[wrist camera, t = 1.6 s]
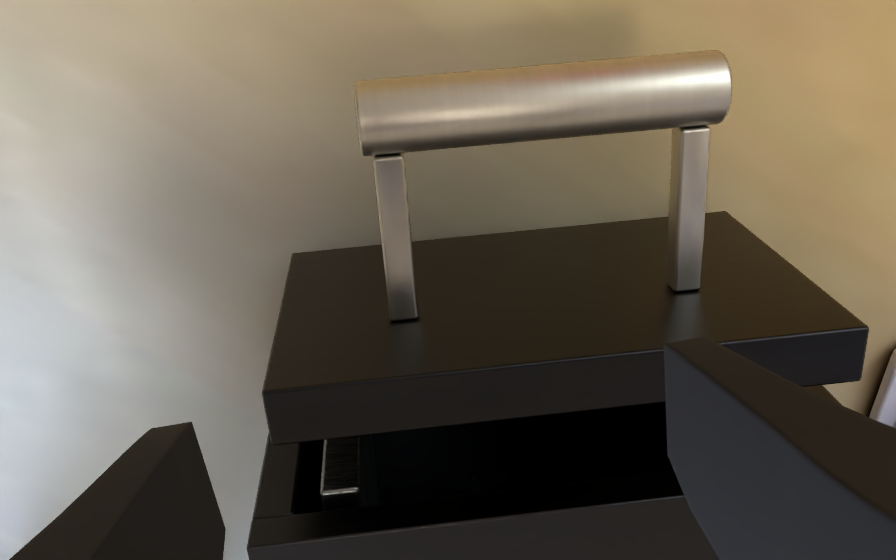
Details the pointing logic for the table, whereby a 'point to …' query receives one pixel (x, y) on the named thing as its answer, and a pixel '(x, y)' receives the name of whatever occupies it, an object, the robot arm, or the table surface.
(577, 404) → the drawer
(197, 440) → the robot arm
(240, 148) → the table surface
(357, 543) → the cabinet
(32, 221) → the table surface
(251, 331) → the table surface
